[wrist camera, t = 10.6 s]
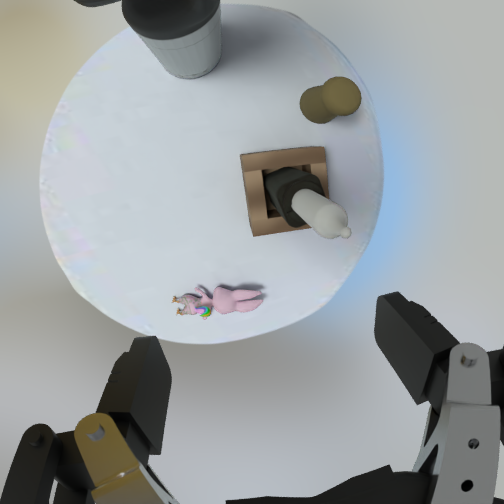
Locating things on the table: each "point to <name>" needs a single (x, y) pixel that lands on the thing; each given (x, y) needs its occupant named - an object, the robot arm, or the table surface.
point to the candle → (305, 202)
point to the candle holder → (258, 200)
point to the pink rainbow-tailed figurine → (219, 302)
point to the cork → (330, 100)
